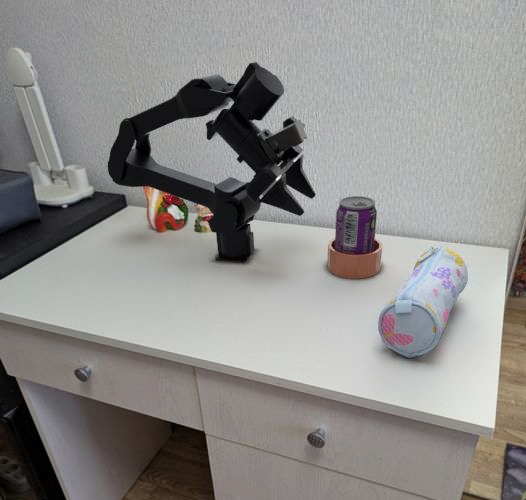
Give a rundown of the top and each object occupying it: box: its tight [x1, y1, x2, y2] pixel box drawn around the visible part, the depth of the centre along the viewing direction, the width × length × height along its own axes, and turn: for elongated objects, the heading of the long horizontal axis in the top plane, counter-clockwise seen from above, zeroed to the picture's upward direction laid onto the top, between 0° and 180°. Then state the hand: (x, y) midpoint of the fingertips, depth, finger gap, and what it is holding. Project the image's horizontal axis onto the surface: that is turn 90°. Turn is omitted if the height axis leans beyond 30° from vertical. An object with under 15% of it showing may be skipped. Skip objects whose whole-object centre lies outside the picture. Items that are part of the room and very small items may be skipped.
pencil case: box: [377, 245, 469, 358], centre depth 73 cm, size 21×9×10 cm, turn 151°
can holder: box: [326, 237, 384, 280], centre depth 92 cm, size 10×10×4 cm
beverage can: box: [334, 195, 378, 255], centre depth 89 cm, size 7×7×12 cm
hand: (308, 205), depth 89 cm, fingers open, 9 cm apart
